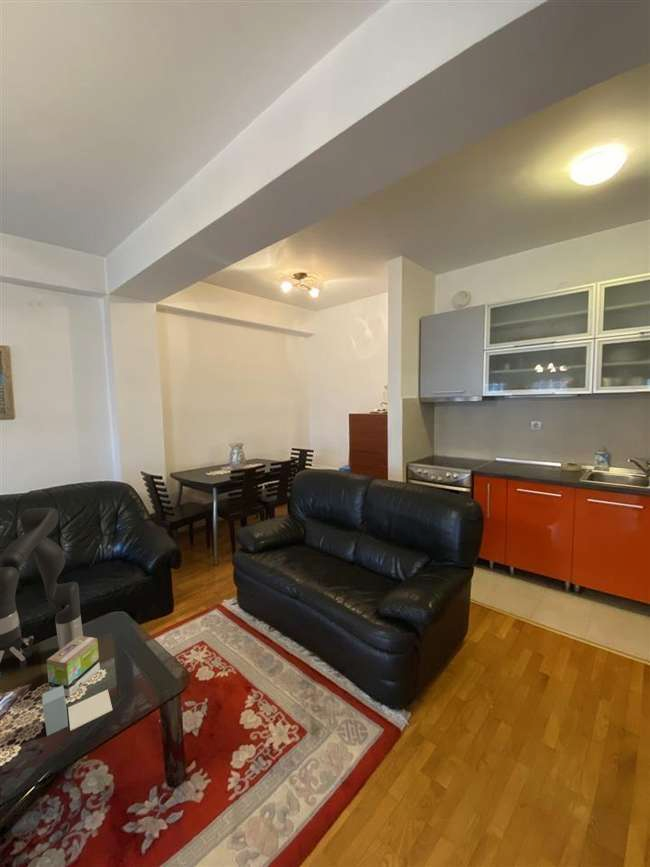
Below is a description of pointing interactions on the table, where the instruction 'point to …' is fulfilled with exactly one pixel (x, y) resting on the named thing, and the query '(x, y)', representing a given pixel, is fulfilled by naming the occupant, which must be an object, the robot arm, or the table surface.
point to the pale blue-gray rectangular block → (55, 710)
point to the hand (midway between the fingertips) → (11, 673)
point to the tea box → (73, 664)
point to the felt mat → (89, 709)
